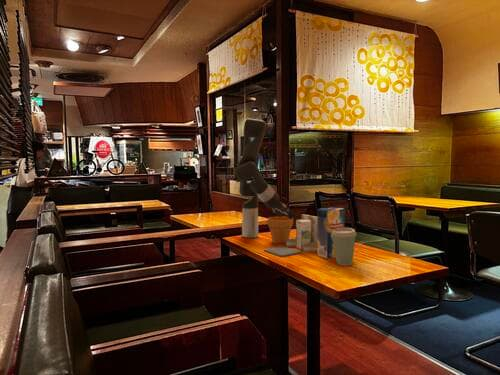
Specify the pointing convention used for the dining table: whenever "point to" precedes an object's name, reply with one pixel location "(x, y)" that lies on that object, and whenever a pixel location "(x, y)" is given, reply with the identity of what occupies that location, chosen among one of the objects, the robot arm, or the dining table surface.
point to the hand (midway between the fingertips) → (286, 216)
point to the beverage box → (328, 229)
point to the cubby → (313, 244)
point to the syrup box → (303, 232)
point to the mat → (282, 251)
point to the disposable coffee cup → (344, 245)
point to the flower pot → (280, 228)
